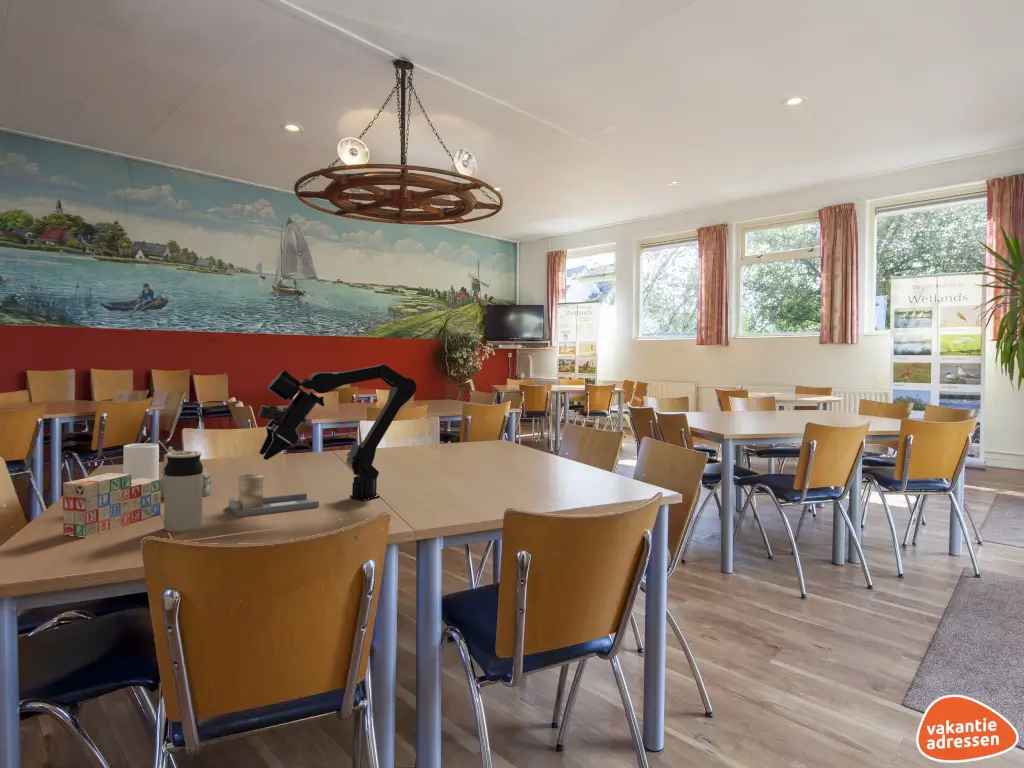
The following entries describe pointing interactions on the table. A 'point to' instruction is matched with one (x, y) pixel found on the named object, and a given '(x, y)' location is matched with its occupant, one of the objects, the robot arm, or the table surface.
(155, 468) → the cup
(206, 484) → the ceramic cottage
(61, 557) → the table surface
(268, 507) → the tray
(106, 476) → the stack of blocks
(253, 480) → the maple block
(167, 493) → the travel mug
